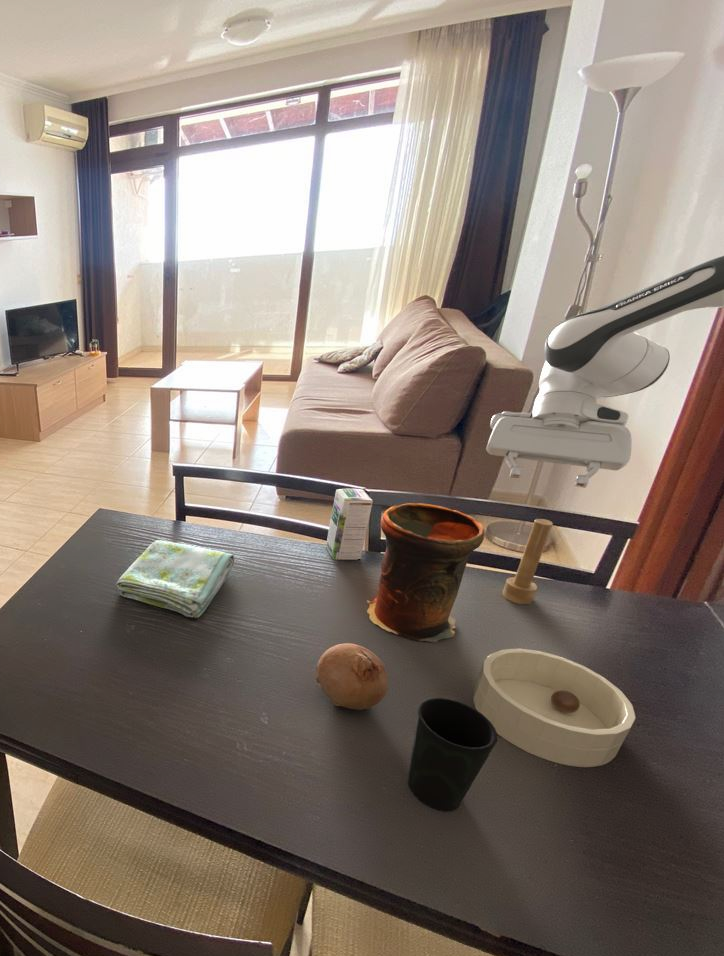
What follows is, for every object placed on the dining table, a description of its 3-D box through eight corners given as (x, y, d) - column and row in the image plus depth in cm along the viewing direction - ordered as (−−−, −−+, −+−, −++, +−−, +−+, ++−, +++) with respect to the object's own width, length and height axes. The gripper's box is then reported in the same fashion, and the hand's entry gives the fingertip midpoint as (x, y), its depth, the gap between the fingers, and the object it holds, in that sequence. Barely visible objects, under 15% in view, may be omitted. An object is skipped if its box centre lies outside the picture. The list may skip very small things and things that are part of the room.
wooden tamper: (526, 591, 102) (553, 517, 95) (536, 605, 98) (565, 528, 91) (498, 589, 103) (523, 515, 96) (507, 602, 99) (533, 526, 92)
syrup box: (324, 546, 121) (334, 488, 115) (352, 546, 120) (363, 488, 114) (332, 560, 116) (343, 499, 110) (362, 560, 115) (374, 499, 109)
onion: (366, 728, 80) (402, 707, 73) (302, 703, 82) (331, 679, 75) (369, 671, 86) (403, 646, 78) (309, 649, 88) (337, 622, 80)
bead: (569, 703, 77) (576, 687, 76) (580, 719, 75) (587, 703, 74) (544, 699, 78) (550, 684, 77) (553, 715, 76) (560, 699, 75)
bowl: (581, 689, 80) (595, 658, 78) (645, 779, 67) (665, 745, 65) (458, 671, 85) (468, 641, 83) (496, 752, 72) (508, 720, 69)
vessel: (404, 586, 106) (426, 495, 97) (476, 629, 93) (508, 529, 85) (345, 605, 102) (362, 511, 94) (412, 652, 90) (439, 549, 81)
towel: (112, 597, 110) (112, 576, 108) (157, 550, 125) (157, 530, 123) (198, 625, 100) (199, 603, 98) (235, 570, 115) (237, 549, 113)
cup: (391, 794, 68) (410, 726, 63) (406, 754, 73) (425, 687, 68) (464, 832, 63) (492, 762, 58) (476, 787, 68) (502, 718, 63)
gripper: (496, 402, 107) (480, 464, 104) (641, 414, 95) (628, 484, 93) (491, 418, 112) (476, 477, 109) (628, 431, 100) (615, 498, 98)
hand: (546, 481), depth 101 cm, fingers open, 8 cm apart
